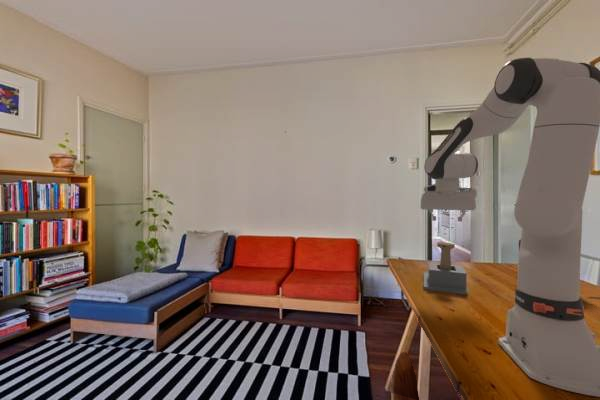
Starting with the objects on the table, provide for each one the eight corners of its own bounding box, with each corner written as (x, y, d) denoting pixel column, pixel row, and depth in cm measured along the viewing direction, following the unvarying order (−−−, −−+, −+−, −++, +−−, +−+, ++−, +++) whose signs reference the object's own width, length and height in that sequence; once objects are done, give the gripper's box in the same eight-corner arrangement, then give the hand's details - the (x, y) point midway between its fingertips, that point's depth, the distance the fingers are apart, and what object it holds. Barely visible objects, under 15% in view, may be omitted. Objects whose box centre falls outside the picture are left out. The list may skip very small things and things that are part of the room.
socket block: (467, 295, 105) (467, 275, 104) (423, 289, 111) (423, 271, 110) (460, 278, 125) (460, 262, 125) (423, 274, 131) (423, 259, 131)
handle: (452, 282, 112) (452, 245, 112) (435, 279, 117) (435, 243, 116) (455, 279, 116) (456, 243, 116) (438, 276, 120) (439, 241, 120)
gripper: (475, 187, 114) (474, 221, 114) (420, 187, 122) (420, 219, 123) (478, 186, 108) (477, 222, 109) (420, 187, 117) (420, 220, 117)
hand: (446, 220), depth 116 cm, fingers open, 8 cm apart
